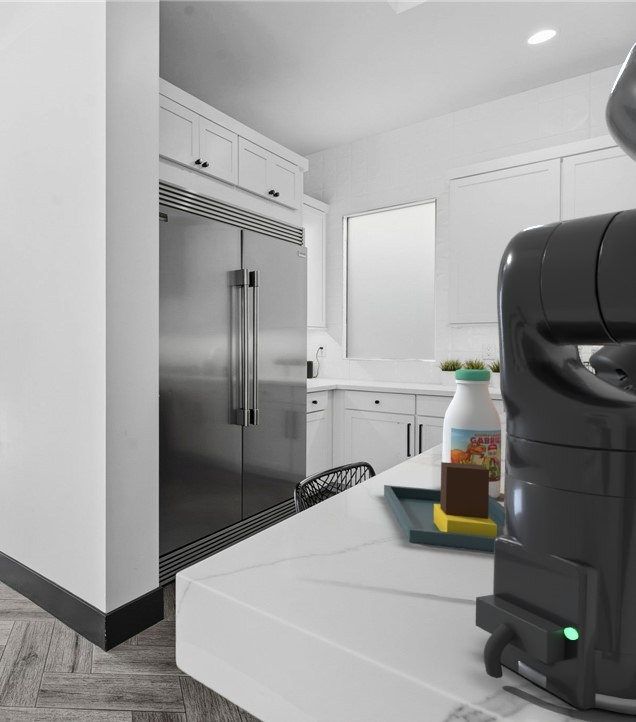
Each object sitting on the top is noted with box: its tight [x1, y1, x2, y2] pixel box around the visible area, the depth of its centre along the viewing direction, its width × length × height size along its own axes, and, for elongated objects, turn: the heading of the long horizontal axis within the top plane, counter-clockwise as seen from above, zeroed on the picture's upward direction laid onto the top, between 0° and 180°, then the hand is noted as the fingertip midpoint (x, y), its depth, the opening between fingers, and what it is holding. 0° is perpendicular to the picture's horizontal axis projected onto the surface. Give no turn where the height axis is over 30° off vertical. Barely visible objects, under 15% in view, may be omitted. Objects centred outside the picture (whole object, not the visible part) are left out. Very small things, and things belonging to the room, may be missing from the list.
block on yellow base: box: [434, 461, 497, 537], centre depth 66 cm, size 7×5×8 cm
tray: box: [383, 484, 504, 553], centre depth 71 cm, size 22×14×2 cm, turn 159°
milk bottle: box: [441, 369, 502, 499], centre depth 85 cm, size 8×8×20 cm
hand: (529, 447), depth 64 cm, fingers open, 8 cm apart
